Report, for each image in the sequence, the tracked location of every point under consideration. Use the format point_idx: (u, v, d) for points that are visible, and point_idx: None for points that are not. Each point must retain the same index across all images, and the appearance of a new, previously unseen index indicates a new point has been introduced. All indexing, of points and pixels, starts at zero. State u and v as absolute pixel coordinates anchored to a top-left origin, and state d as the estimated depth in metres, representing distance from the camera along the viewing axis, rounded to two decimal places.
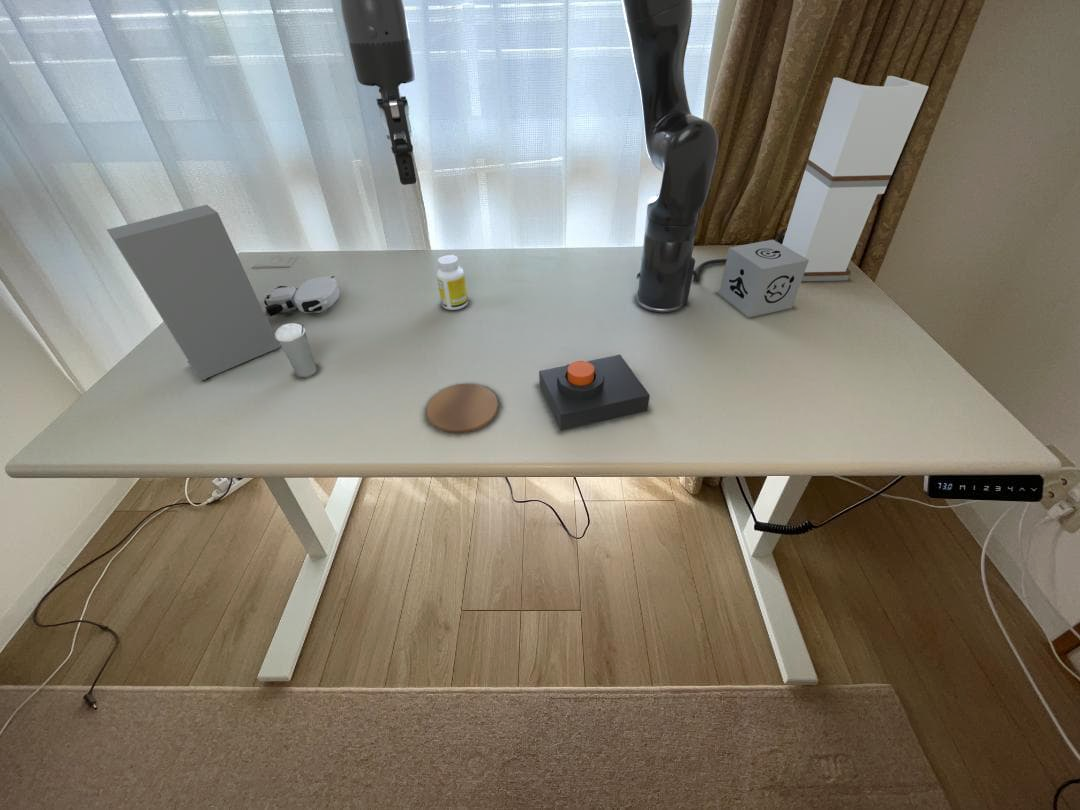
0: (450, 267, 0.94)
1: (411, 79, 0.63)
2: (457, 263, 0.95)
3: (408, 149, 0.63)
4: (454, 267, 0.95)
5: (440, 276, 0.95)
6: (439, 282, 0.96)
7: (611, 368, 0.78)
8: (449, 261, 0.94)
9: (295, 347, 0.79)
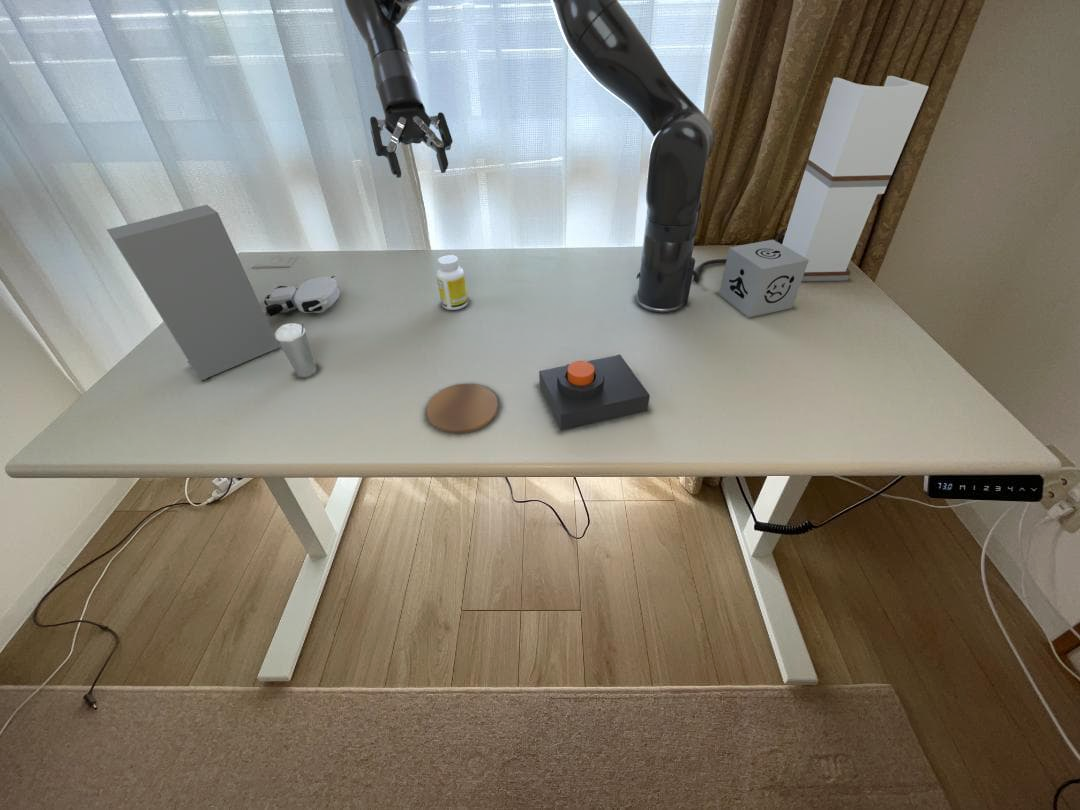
0: (450, 267, 0.94)
1: (393, 101, 0.88)
2: (457, 263, 0.95)
3: (376, 148, 0.88)
4: (454, 267, 0.95)
5: (440, 276, 0.95)
6: (439, 282, 0.96)
7: (611, 368, 0.78)
8: (449, 261, 0.94)
9: (295, 347, 0.79)
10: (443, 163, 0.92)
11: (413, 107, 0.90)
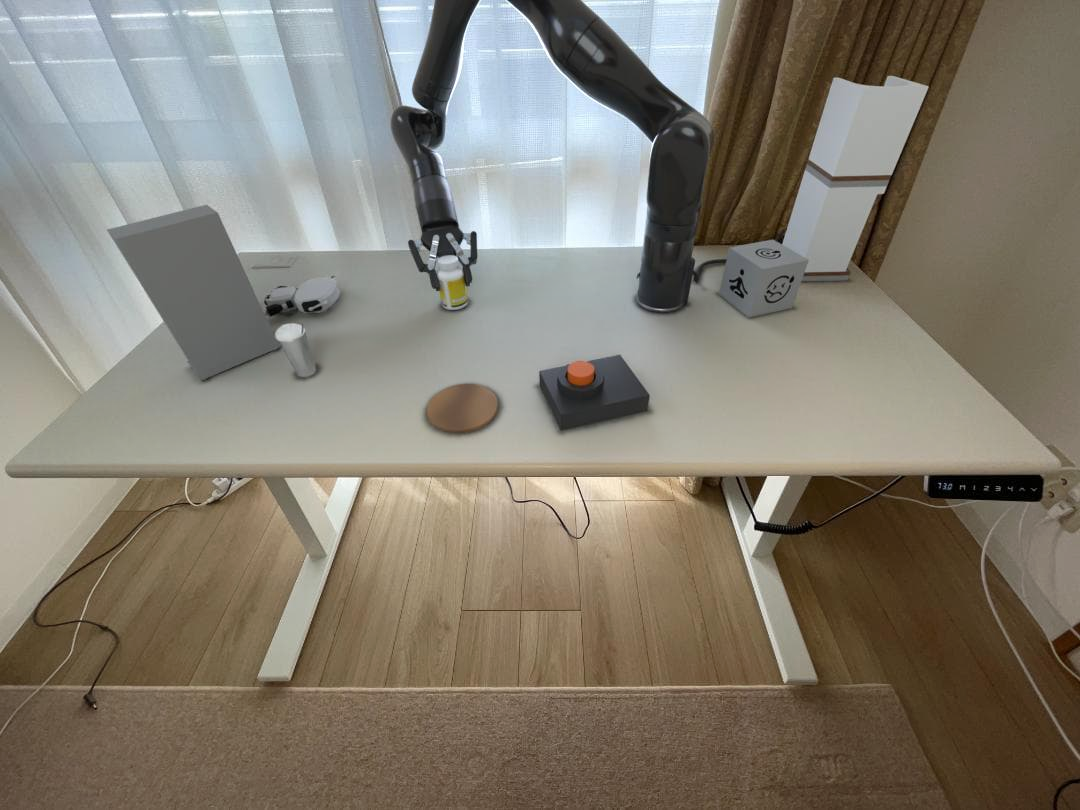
0: (450, 267, 0.94)
1: (428, 222, 0.94)
2: (457, 263, 0.95)
3: (418, 266, 0.95)
4: (454, 267, 0.95)
5: (440, 276, 0.95)
6: (439, 283, 0.96)
7: (611, 368, 0.78)
8: (449, 261, 0.94)
9: (295, 347, 0.79)
10: (467, 279, 0.96)
11: (446, 225, 0.96)
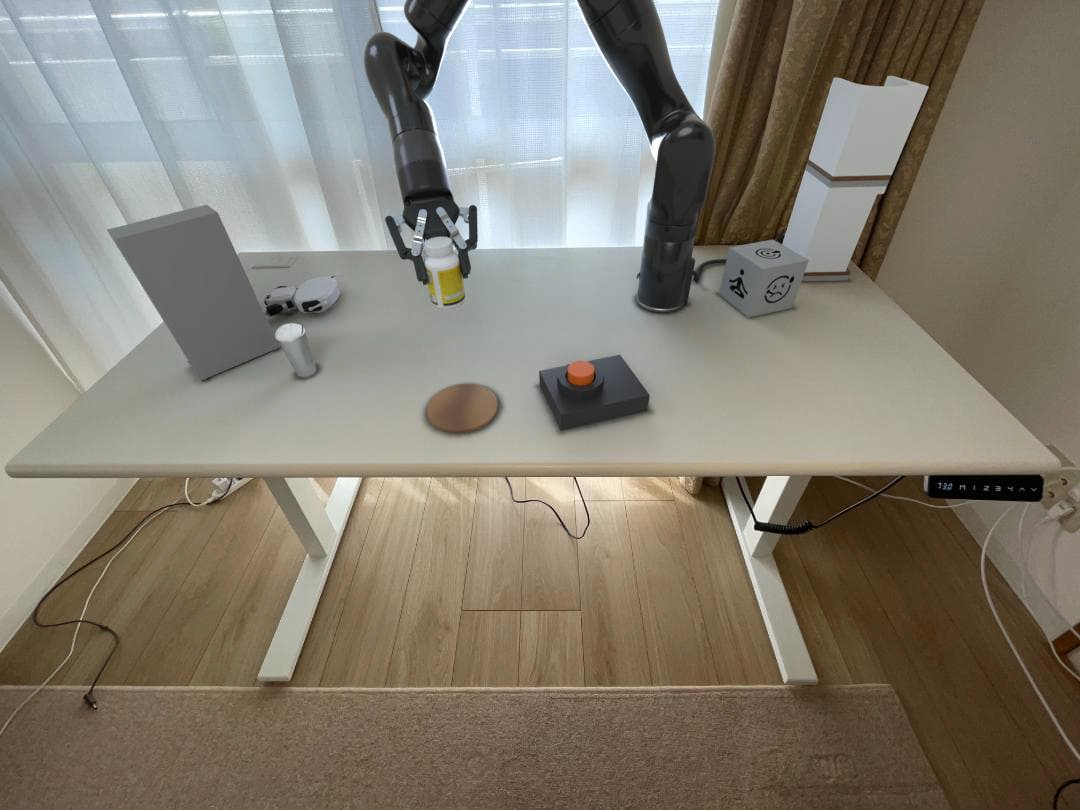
0: (441, 252, 0.70)
1: (412, 191, 0.70)
2: (451, 247, 0.71)
3: (399, 252, 0.71)
4: (446, 252, 0.71)
5: (428, 265, 0.71)
6: (427, 273, 0.72)
7: (611, 368, 0.78)
8: (439, 244, 0.70)
9: (295, 347, 0.79)
10: (464, 268, 0.73)
11: (437, 196, 0.72)
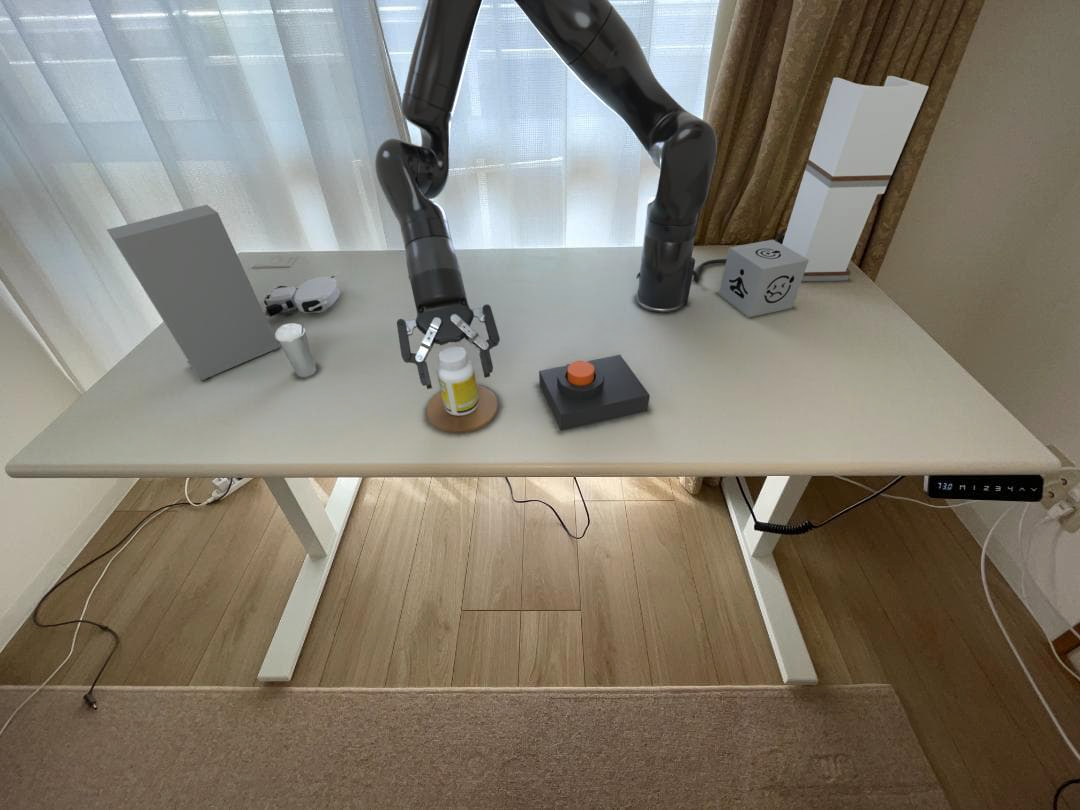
0: (455, 365, 0.69)
1: (426, 301, 0.69)
2: (465, 359, 0.70)
3: (403, 357, 0.70)
4: (461, 365, 0.70)
5: (442, 377, 0.70)
6: (441, 384, 0.71)
7: (611, 368, 0.78)
8: (454, 357, 0.69)
9: (295, 347, 0.79)
10: (486, 369, 0.71)
11: (451, 302, 0.71)
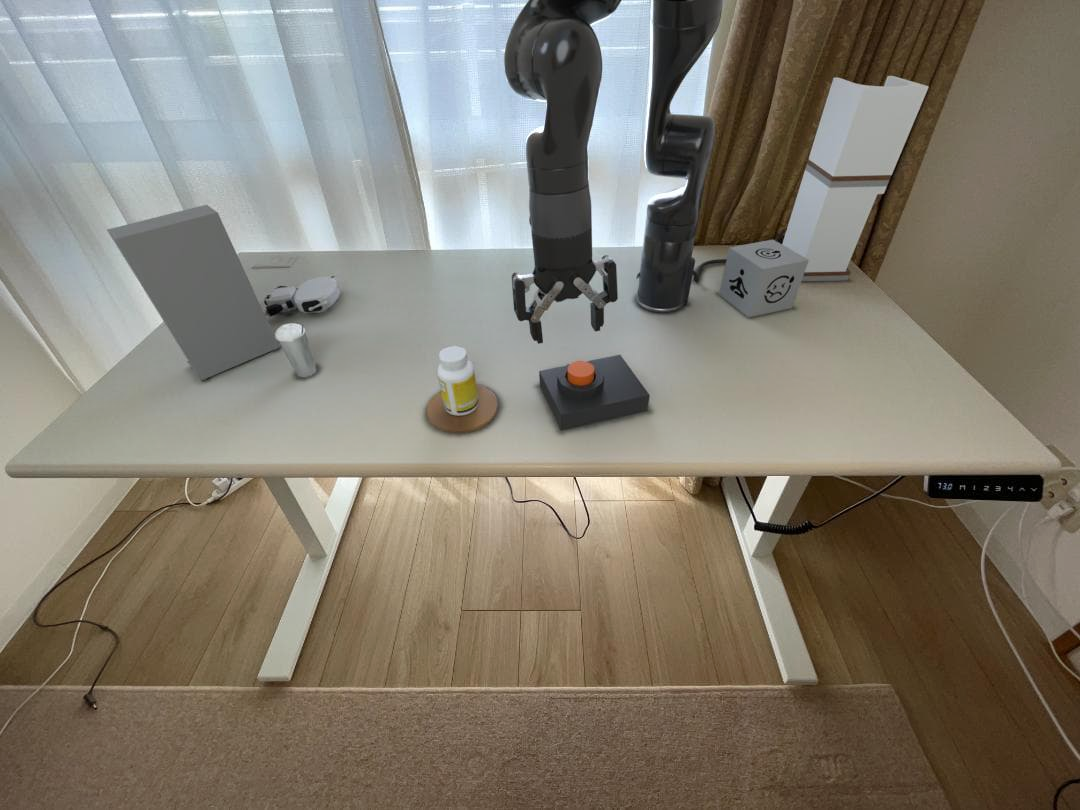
0: (455, 365, 0.69)
1: (552, 269, 0.61)
2: (465, 359, 0.70)
3: None
4: (461, 365, 0.70)
5: (442, 377, 0.70)
6: (441, 384, 0.71)
7: (611, 368, 0.78)
8: (454, 357, 0.69)
9: (295, 347, 0.79)
10: (597, 327, 0.70)
11: None
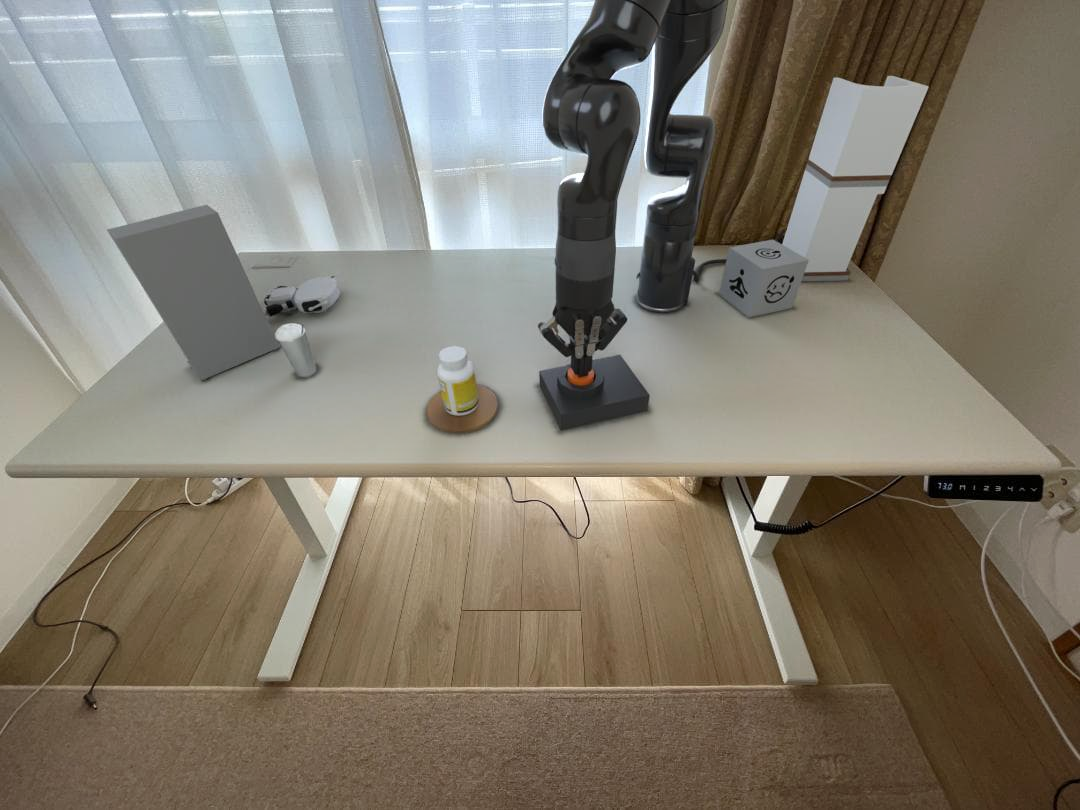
0: (455, 365, 0.69)
1: (576, 309, 0.62)
2: (465, 359, 0.70)
3: None
4: (461, 365, 0.70)
5: (442, 377, 0.70)
6: (441, 384, 0.71)
7: (611, 368, 0.78)
8: (454, 357, 0.69)
9: (295, 347, 0.79)
10: (586, 372, 0.72)
11: None
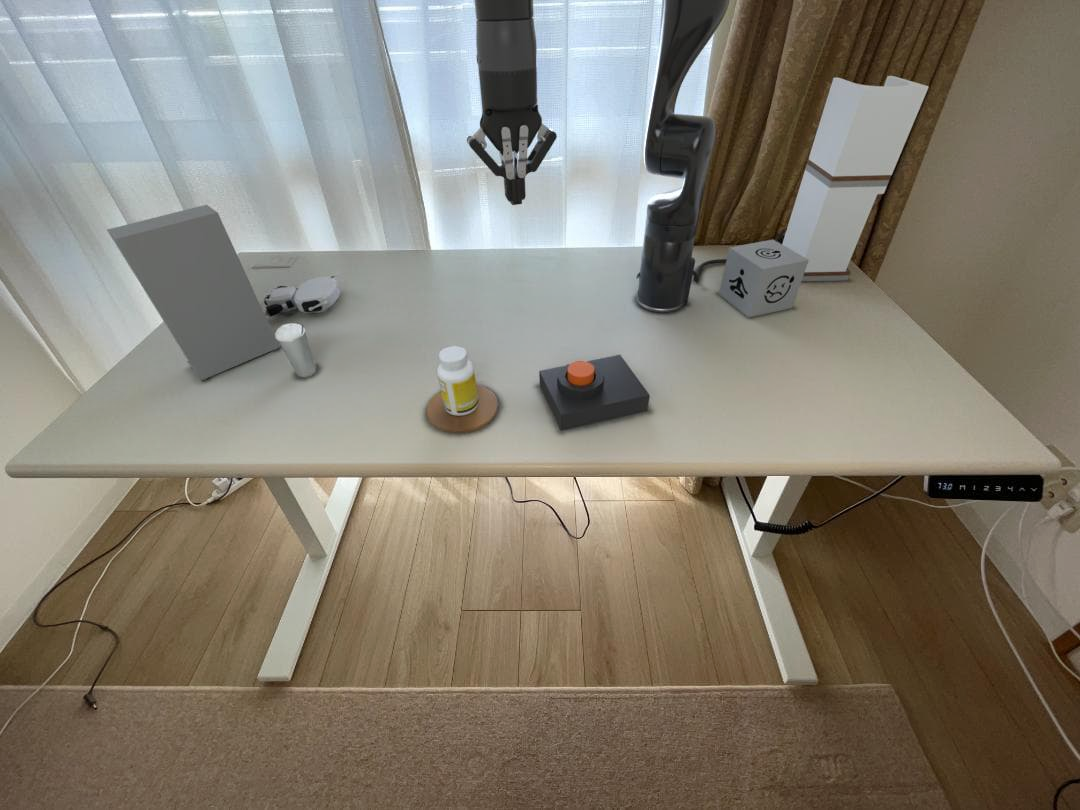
0: (455, 365, 0.69)
1: (499, 109, 0.63)
2: (465, 359, 0.70)
3: None
4: (461, 365, 0.70)
5: (442, 377, 0.70)
6: (441, 384, 0.71)
7: (611, 368, 0.78)
8: (454, 357, 0.69)
9: (295, 347, 0.79)
10: (519, 199, 0.72)
11: None
